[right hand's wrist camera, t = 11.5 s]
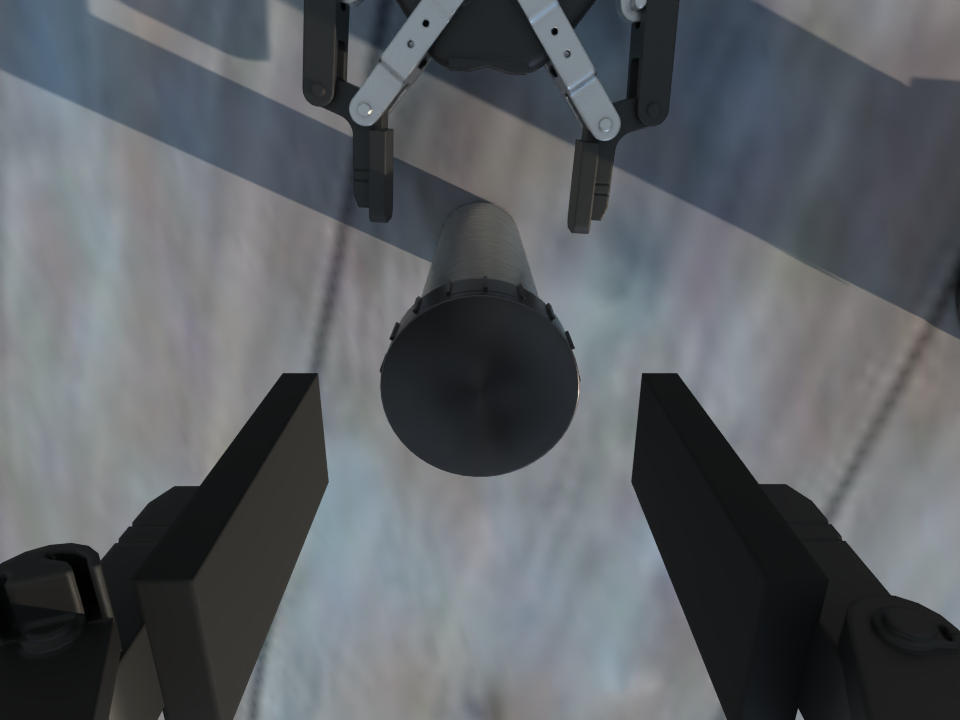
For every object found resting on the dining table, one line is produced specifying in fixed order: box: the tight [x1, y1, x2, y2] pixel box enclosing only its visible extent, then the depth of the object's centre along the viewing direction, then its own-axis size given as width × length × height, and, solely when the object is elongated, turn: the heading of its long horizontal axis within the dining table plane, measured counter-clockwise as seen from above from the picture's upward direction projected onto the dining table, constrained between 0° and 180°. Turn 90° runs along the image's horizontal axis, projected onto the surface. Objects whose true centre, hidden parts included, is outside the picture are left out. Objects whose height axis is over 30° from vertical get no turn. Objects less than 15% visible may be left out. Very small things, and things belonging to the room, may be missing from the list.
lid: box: [380, 276, 581, 477], centre depth 17 cm, size 5×5×2 cm
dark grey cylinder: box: [421, 202, 539, 298], centre depth 25 cm, size 4×4×19 cm
